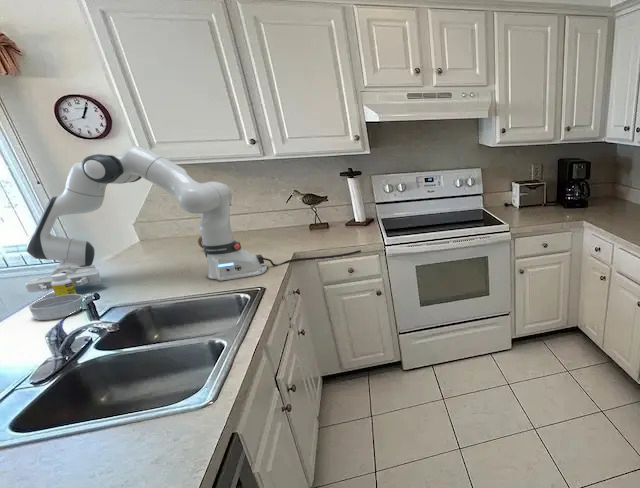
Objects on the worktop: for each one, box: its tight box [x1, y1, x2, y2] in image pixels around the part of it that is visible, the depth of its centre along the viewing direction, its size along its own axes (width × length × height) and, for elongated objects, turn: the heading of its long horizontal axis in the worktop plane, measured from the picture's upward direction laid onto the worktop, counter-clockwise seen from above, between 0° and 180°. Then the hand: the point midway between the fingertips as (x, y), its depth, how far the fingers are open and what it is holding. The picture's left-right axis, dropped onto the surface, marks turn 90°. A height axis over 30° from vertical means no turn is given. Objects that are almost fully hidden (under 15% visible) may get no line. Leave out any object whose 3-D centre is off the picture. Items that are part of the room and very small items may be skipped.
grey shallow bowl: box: [28, 293, 84, 321], centre depth 143 cm, size 13×13×4 cm
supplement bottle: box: [50, 273, 78, 296], centre depth 153 cm, size 5×5×10 cm
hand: (62, 286), depth 152 cm, fingers open, 8 cm apart
